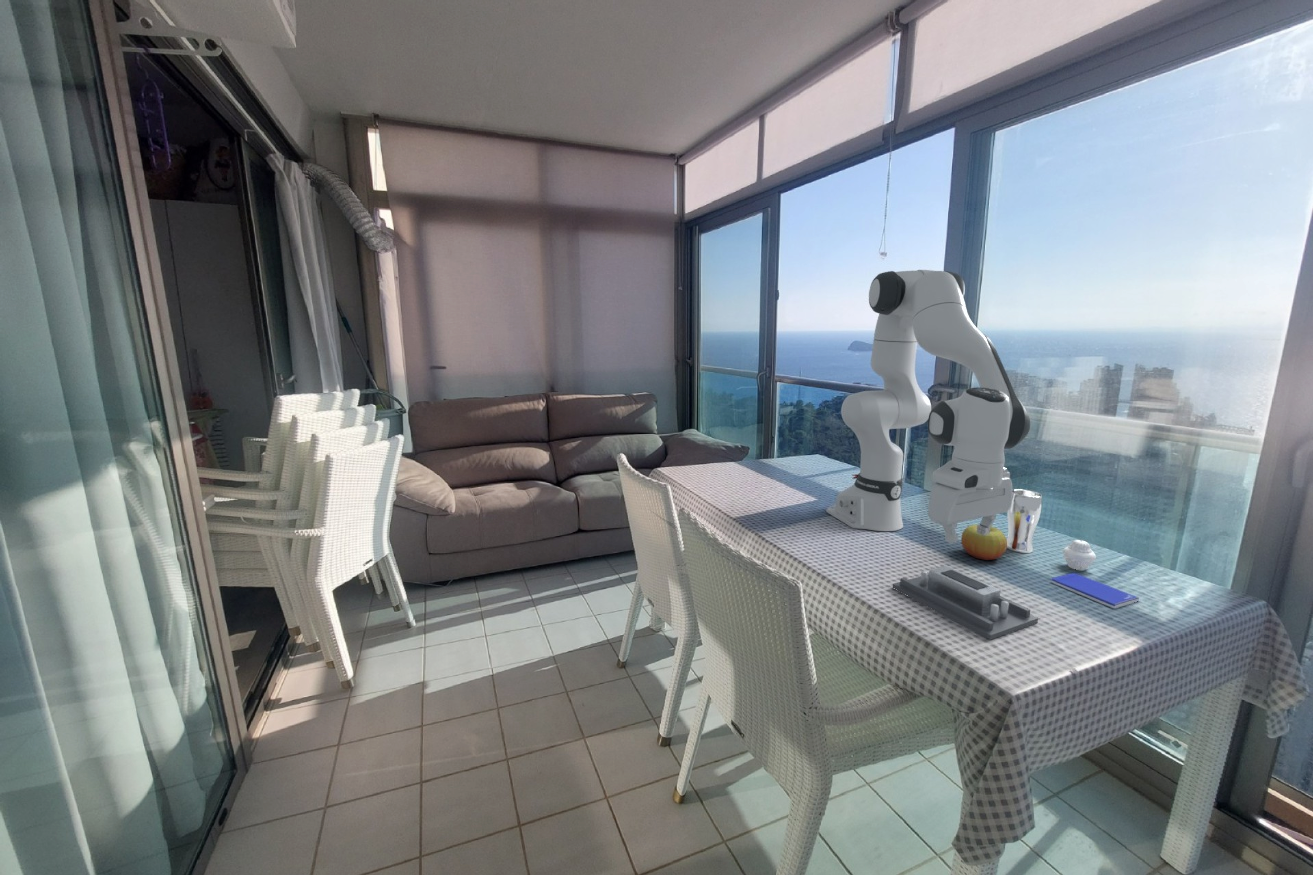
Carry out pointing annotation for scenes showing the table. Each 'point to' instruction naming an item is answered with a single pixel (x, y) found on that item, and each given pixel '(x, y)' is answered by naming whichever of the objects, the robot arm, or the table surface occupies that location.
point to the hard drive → (1095, 590)
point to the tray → (988, 626)
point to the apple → (984, 543)
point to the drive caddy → (963, 590)
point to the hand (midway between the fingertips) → (967, 537)
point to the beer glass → (1023, 519)
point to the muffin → (1079, 555)
